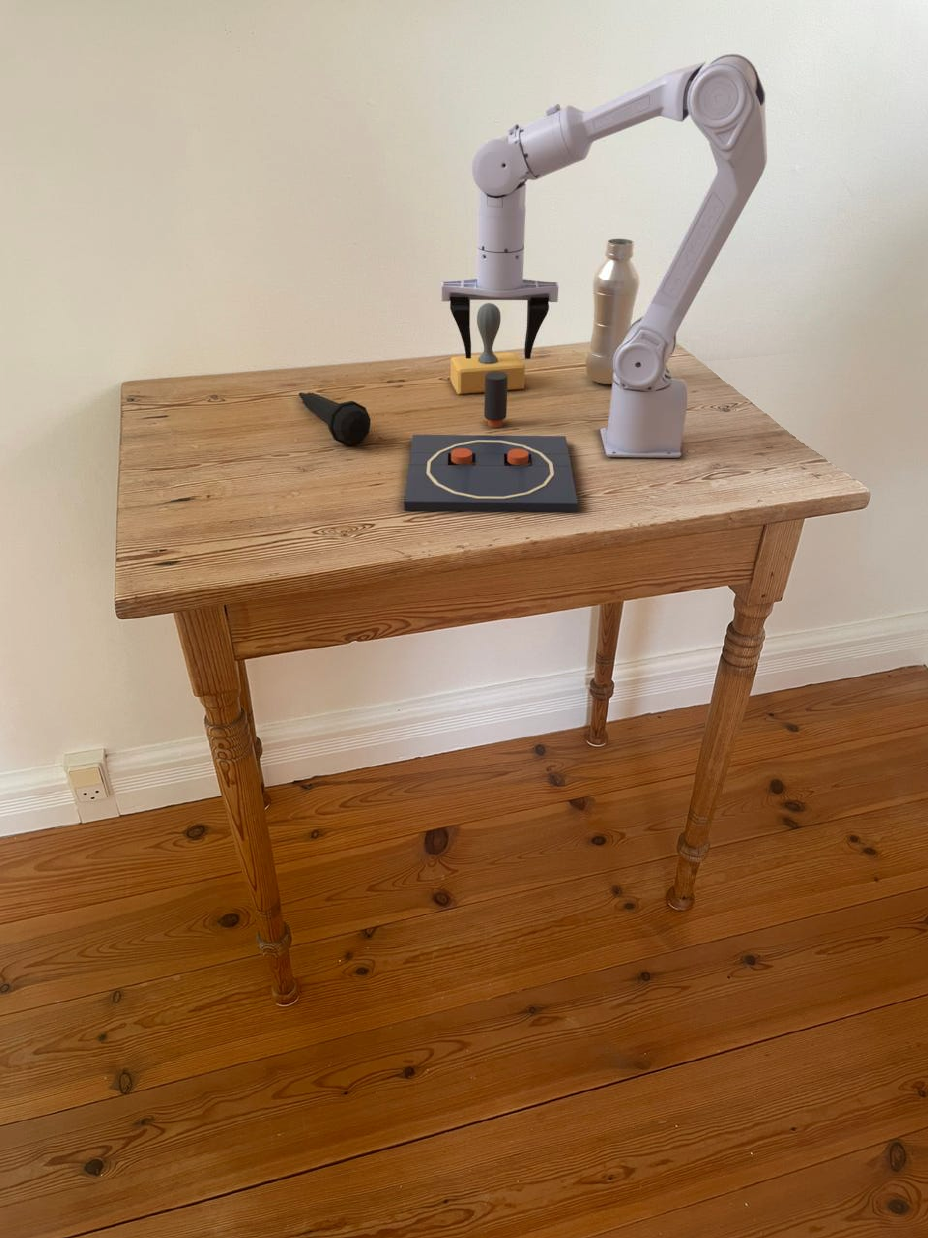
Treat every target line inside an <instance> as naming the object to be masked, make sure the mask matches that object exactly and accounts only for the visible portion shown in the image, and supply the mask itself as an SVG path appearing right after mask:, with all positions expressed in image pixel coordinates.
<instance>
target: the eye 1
mask: <svg viewBox="0 0 928 1238" xmlns="http://www.w3.org/2000/svg"><path fill="white" fill-rule="evenodd" d="M451 460H452V461H451V462H452V463H453V464H456V465H468V464H470V463H472V462H471V461H472V451H471V450H469V449H465V448H458V449H454V450H453V451H452V452H451Z"/></svg>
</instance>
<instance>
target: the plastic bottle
mask: <svg viewBox="0 0 928 1238" xmlns="http://www.w3.org/2000/svg"><path fill="white" fill-rule="evenodd" d="M634 248H635V241H634V240H632V239H628V238H610V239H608V240H607V241H606V248H605V251H604V256H605V257H606V259H605V260H604V261H603V262H602V264H600V265H599V267H598V268H597V269H596V271H595V273H594V275H593V278H592V297H593V320H592V323H593V324H592V332H591V339H590V344H589V348H588V351H587V355H586V360H585V371H586V374H587V376H588V378H589V379H590V380H591V381H592V382H595V383H598V384H603V385H612V381H613V373H614V369H613V357H614V354H615V352H616V350H617V349H618V347H619V346H620V345H621V344H622V343H623V341H624V339H625V337H626V336H627V332H628V330H629V328H630V327H631V325H632V319H633V314H634V308H635V305H636V300H637V297H638V292H639V288H640V284H641V283H640V276H639V273H638V270H637V268H636V267H635V265H634V264H633V261H632V258H633V257H634V253H635V252H634Z"/></svg>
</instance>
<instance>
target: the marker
mask: <svg viewBox="0 0 928 1238" xmlns="http://www.w3.org/2000/svg"><path fill="white" fill-rule="evenodd" d="M507 385H508V375H507V374H506V373H504V372H499V371H493V372H488V373H486V375H485V392H484V404H483V405H484V411H483V416H484V418H485V419H486V420H487V426H488V427H490V428H500V427H502V426H503V420H505V419H506V418H507V412H508V411H507V410H508V409H507V407H508V390H507Z"/></svg>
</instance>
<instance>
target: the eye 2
mask: <svg viewBox="0 0 928 1238" xmlns="http://www.w3.org/2000/svg"><path fill="white" fill-rule="evenodd" d="M528 458H529V453H528V452H527V451H526V450H523V449H512V450H510V451H508V459H507V460H508V462H507V463H509V464H511V465H513V466H524V465H526V464H527V463H529V462H528Z"/></svg>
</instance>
